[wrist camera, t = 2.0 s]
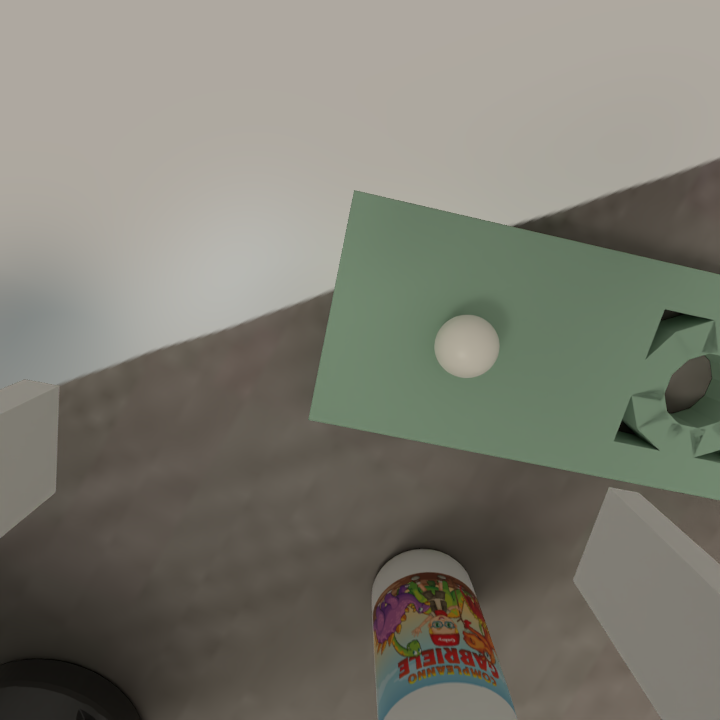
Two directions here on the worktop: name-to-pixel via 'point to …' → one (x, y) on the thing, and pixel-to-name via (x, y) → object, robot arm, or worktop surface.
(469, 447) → the plate
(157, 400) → the worktop surface
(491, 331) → the ball
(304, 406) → the worktop surface
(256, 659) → the worktop surface
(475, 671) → the milk bottle
